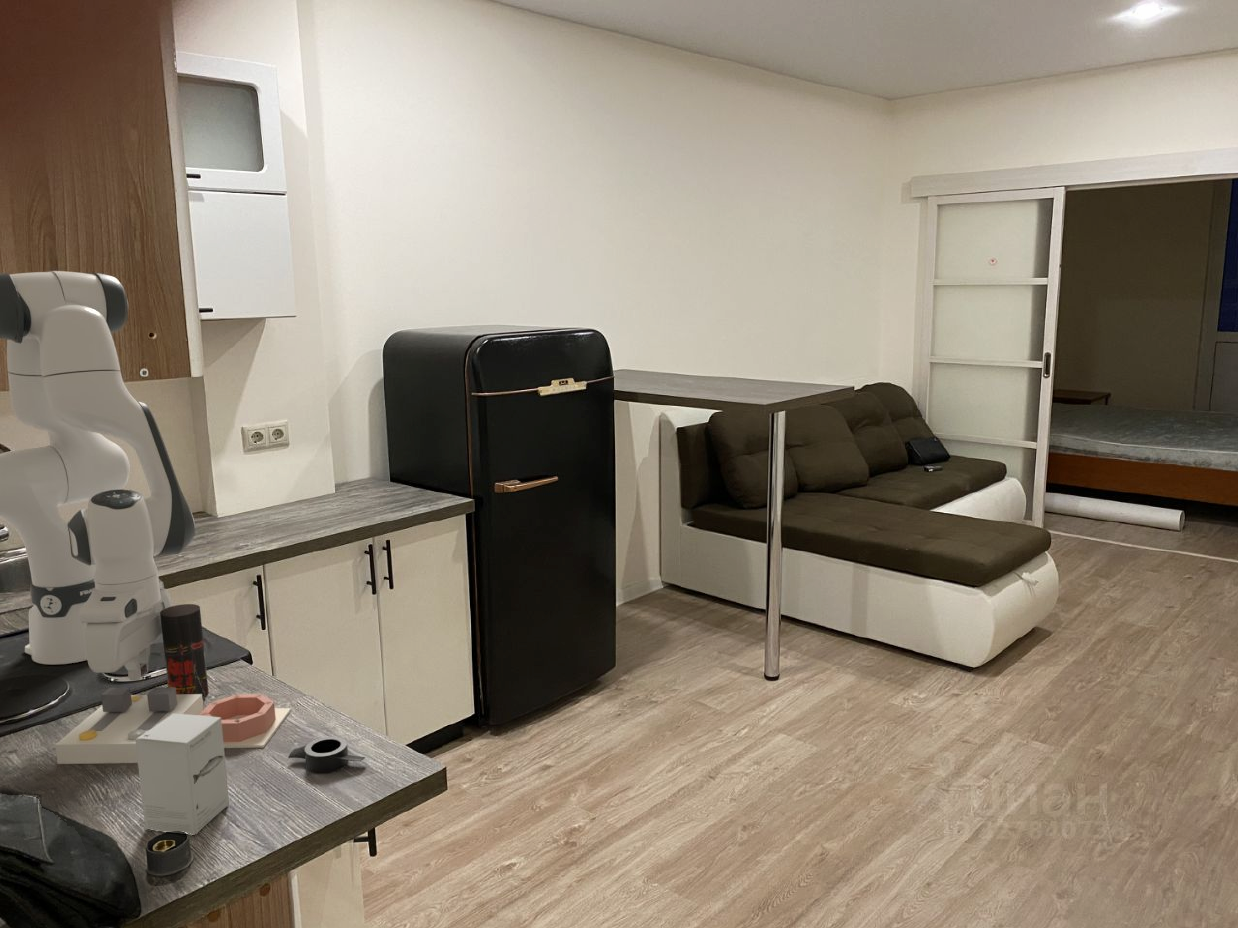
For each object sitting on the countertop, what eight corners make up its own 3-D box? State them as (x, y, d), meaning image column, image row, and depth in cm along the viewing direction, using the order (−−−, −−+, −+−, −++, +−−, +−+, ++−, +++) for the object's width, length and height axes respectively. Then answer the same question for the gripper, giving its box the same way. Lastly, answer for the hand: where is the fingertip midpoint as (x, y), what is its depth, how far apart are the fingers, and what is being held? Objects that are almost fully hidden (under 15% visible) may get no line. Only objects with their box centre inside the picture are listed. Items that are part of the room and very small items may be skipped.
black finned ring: (319, 788, 126) (318, 768, 125) (285, 762, 132) (283, 743, 132) (370, 766, 131) (368, 748, 130) (334, 743, 138) (333, 725, 137)
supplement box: (195, 837, 114) (185, 743, 112) (143, 830, 116) (132, 738, 113) (231, 804, 121) (223, 715, 119) (182, 799, 123) (172, 711, 120)
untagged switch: (156, 704, 143) (154, 687, 142) (177, 704, 143) (175, 687, 142) (149, 711, 141) (147, 694, 140) (170, 711, 141) (168, 694, 140)
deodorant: (163, 696, 154) (154, 610, 151) (199, 684, 158) (190, 601, 155) (178, 706, 150) (168, 619, 147) (214, 694, 154) (206, 609, 151)
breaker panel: (116, 712, 148) (113, 692, 147) (203, 711, 148) (201, 691, 147) (57, 763, 132) (54, 741, 131) (155, 762, 132) (152, 740, 131)
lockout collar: (216, 711, 148) (214, 691, 147) (291, 710, 148) (289, 690, 147) (182, 748, 136) (179, 727, 135) (263, 747, 136) (261, 726, 136)
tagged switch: (111, 704, 143) (109, 687, 142) (132, 704, 143) (130, 687, 142) (103, 711, 141) (100, 694, 140) (124, 711, 141) (122, 694, 140)
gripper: (141, 574, 155) (150, 651, 158) (72, 616, 135) (84, 704, 137) (178, 573, 155) (187, 650, 158) (115, 615, 135) (126, 703, 137)
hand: (139, 676), depth 147 cm, fingers closed
